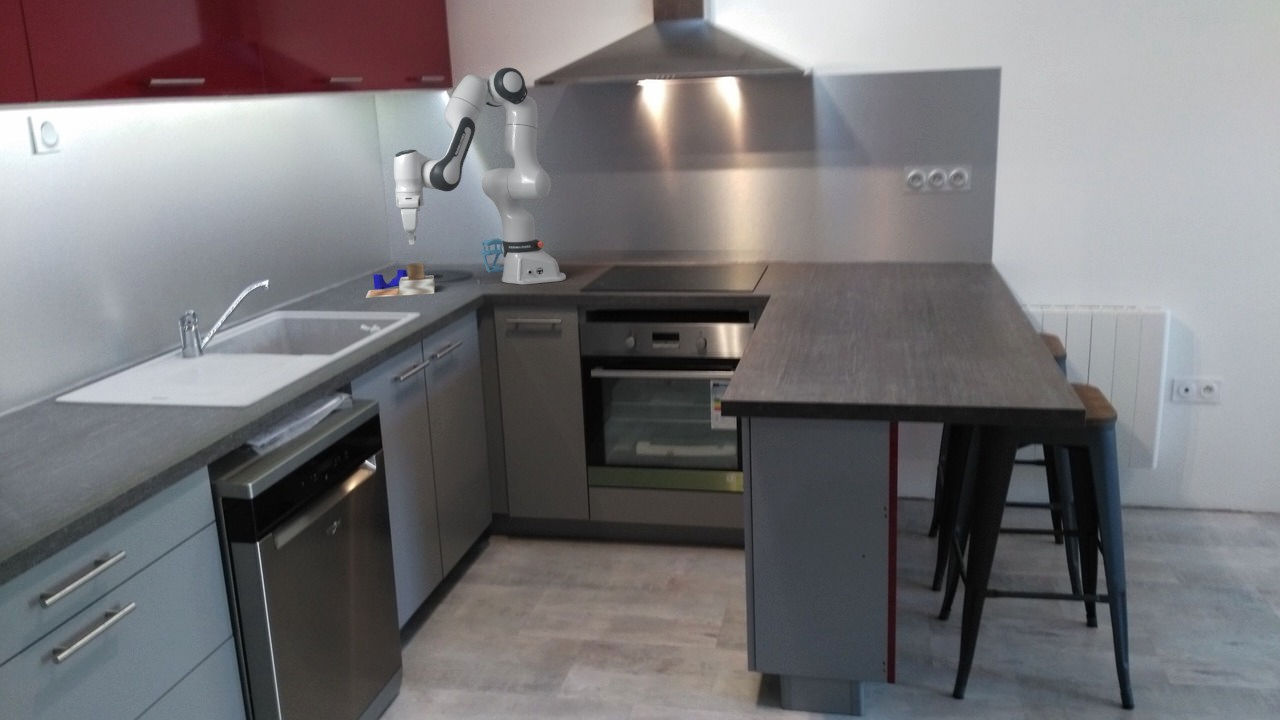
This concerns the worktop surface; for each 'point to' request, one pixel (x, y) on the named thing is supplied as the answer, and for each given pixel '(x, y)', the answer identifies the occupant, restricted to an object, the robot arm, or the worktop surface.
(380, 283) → the cable clip
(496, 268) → the chair
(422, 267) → the plug
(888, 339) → the worktop surface
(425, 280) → the board
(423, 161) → the robot arm
